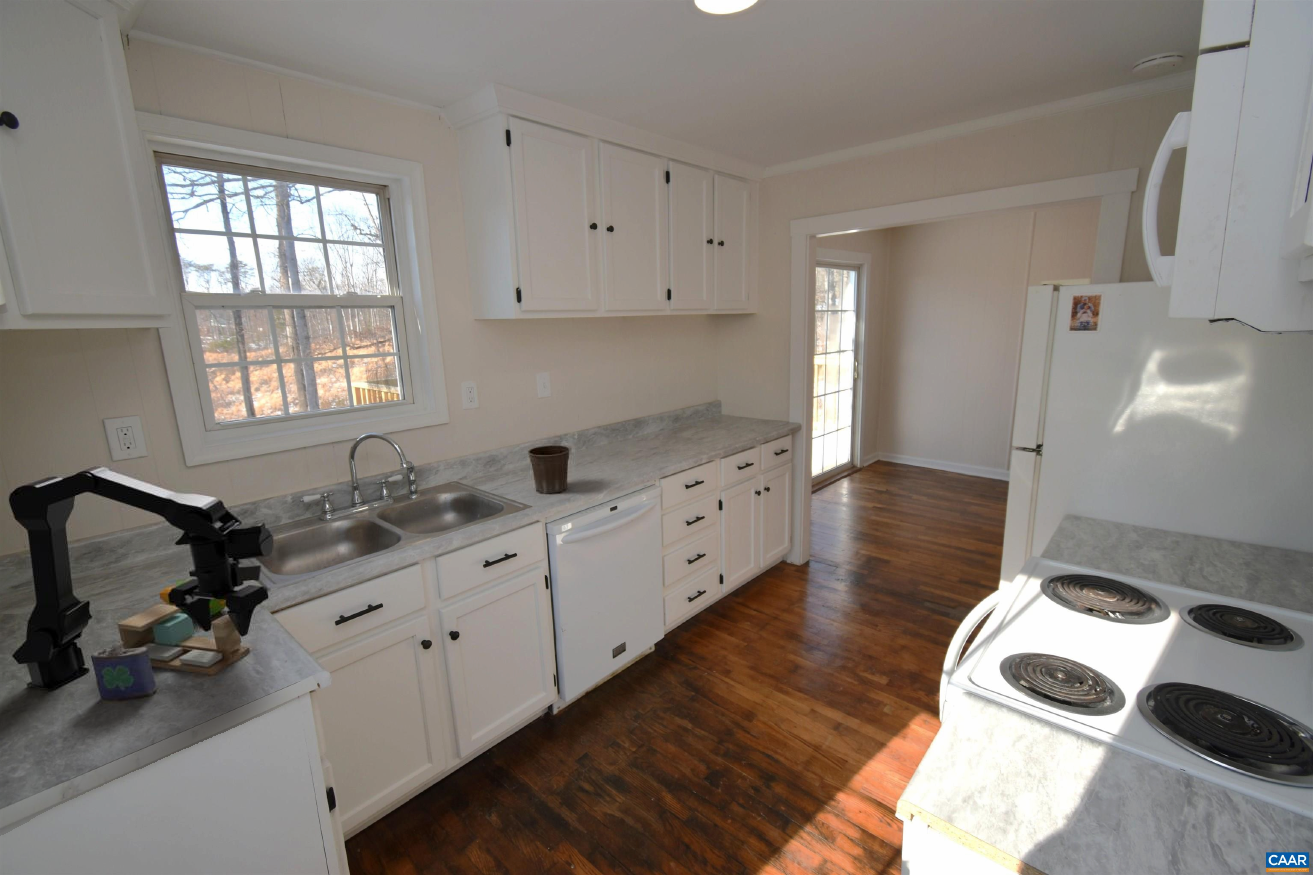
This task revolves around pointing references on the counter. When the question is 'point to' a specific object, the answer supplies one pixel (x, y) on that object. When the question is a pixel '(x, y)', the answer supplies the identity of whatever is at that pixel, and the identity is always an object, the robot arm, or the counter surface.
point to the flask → (123, 673)
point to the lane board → (141, 633)
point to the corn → (214, 604)
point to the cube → (173, 629)
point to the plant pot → (550, 468)
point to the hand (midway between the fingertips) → (226, 633)
